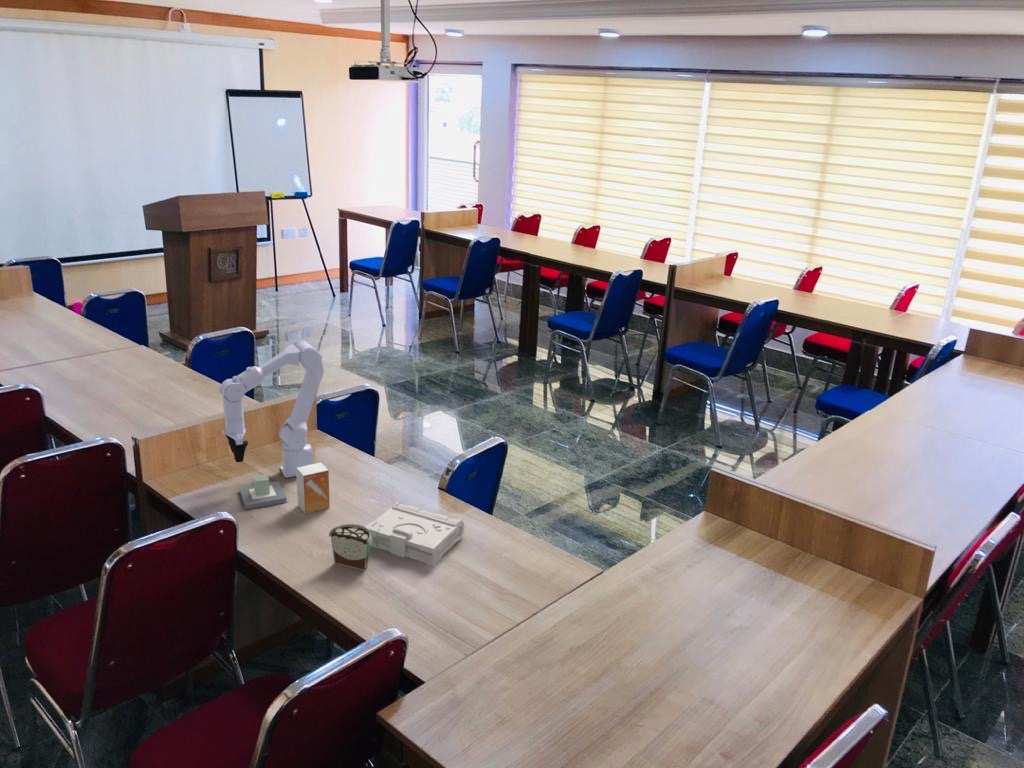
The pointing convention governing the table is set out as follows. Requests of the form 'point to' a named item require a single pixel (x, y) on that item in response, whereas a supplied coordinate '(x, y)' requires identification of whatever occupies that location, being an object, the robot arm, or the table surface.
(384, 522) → the book
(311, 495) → the small box
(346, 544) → the food container
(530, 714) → the table surface
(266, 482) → the sage block
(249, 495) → the slate base
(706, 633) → the table surface
